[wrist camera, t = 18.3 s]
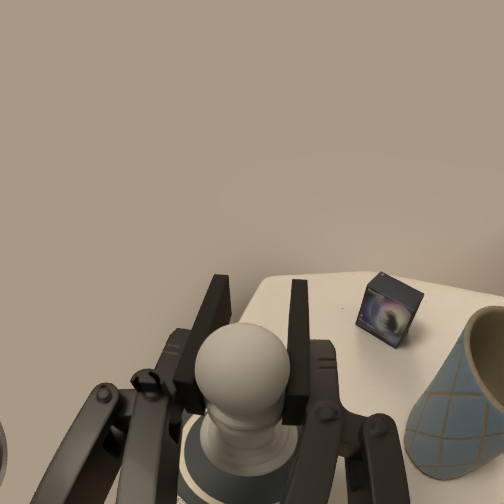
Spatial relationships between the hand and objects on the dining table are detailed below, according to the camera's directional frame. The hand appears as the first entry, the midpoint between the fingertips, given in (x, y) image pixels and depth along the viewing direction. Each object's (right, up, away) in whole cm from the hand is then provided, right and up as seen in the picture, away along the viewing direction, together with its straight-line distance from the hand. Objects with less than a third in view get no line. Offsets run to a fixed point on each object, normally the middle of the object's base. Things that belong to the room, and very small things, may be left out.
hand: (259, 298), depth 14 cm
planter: (+31, -27, +13) cm, 43 cm away
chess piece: (-1, -8, -2) cm, 8 cm away
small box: (+26, -13, +36) cm, 46 cm away
